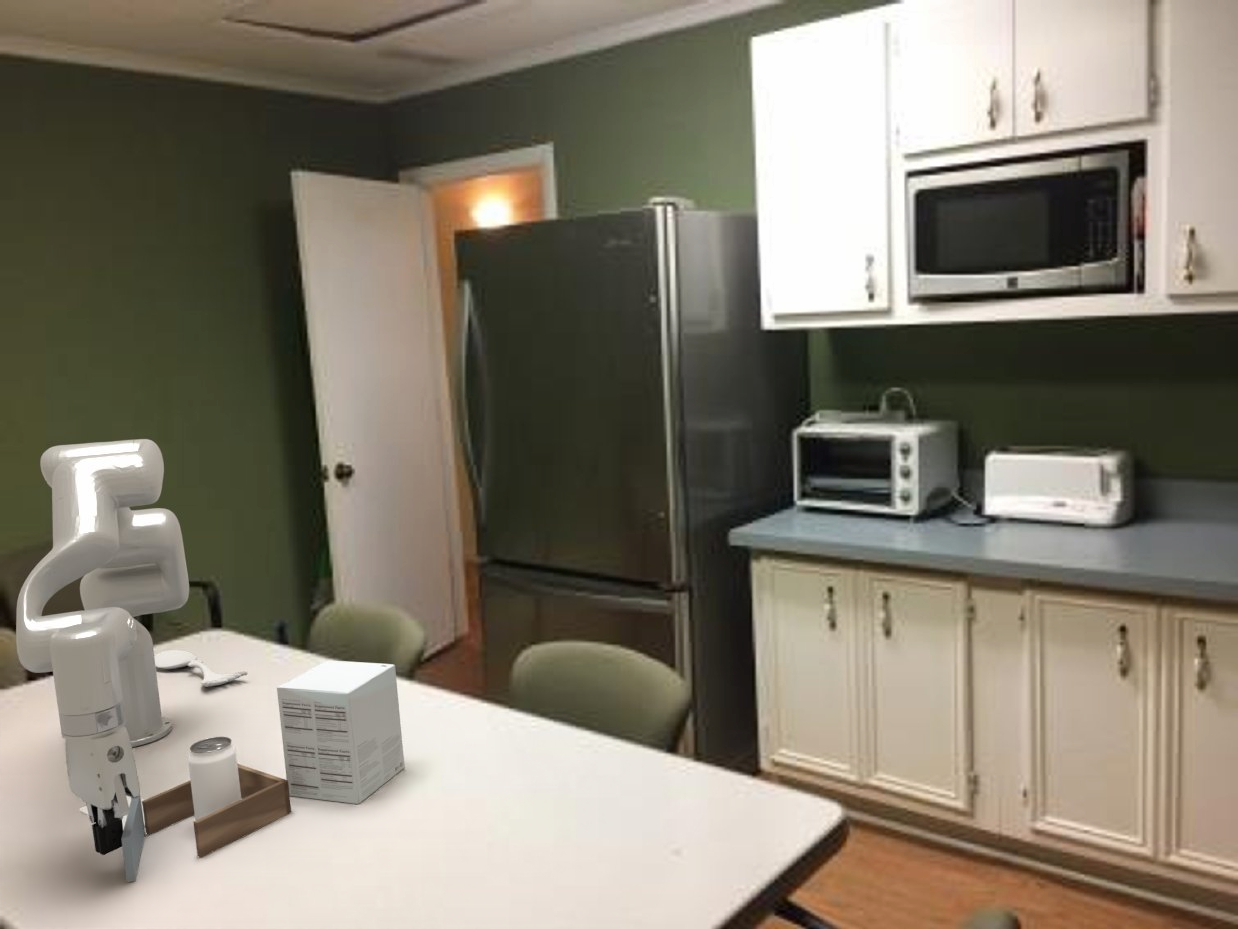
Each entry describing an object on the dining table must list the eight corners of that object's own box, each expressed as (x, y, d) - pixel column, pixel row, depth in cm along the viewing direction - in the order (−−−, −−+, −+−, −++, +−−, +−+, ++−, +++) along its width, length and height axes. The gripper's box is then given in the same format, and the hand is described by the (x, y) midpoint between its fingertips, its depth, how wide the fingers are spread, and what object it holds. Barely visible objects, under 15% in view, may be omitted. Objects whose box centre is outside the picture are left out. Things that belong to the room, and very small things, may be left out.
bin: (146, 834, 147) (141, 801, 147) (236, 792, 159) (232, 762, 159) (200, 857, 140) (196, 823, 139) (291, 812, 151) (288, 780, 151)
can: (227, 834, 146) (218, 754, 144) (186, 832, 147) (177, 753, 146) (252, 812, 152) (243, 735, 151) (212, 811, 153) (203, 734, 152)
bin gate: (136, 836, 147) (131, 795, 146) (145, 834, 147) (140, 793, 146) (126, 883, 134) (120, 838, 133) (136, 881, 134) (130, 836, 133)
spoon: (208, 698, 204) (206, 681, 204) (144, 667, 226) (142, 652, 226) (250, 685, 211) (249, 668, 210) (184, 656, 233) (183, 642, 232)
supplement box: (337, 760, 169) (326, 658, 167) (406, 768, 165) (396, 663, 163) (285, 796, 157) (274, 687, 155) (359, 805, 153) (348, 692, 150)
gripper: (150, 719, 132) (167, 851, 135) (92, 698, 141) (109, 823, 144) (93, 740, 126) (112, 878, 129) (35, 717, 135) (54, 847, 138)
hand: (110, 848), depth 137 cm, fingers closed
